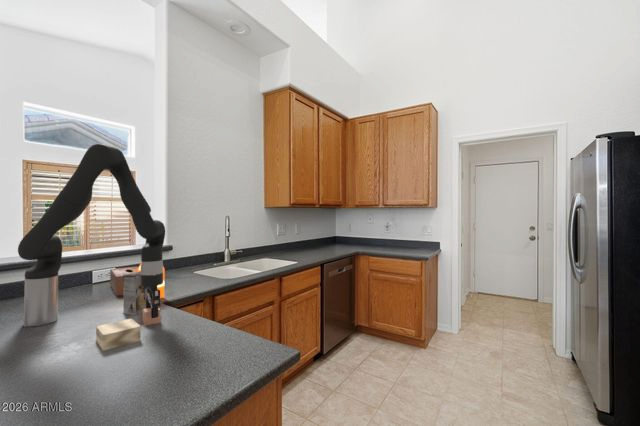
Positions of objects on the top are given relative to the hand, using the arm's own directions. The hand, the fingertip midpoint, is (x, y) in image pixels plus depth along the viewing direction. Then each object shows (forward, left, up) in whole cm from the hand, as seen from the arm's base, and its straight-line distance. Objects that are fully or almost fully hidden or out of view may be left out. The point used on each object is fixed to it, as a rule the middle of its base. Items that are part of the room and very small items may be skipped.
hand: (151, 314), depth 111 cm
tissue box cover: (+3, +63, -3) cm, 63 cm away
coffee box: (-1, +18, -3) cm, 18 cm away
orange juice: (+7, +33, -3) cm, 34 cm away
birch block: (-12, -11, -3) cm, 17 cm away
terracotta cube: (0, 0, -3) cm, 3 cm away
